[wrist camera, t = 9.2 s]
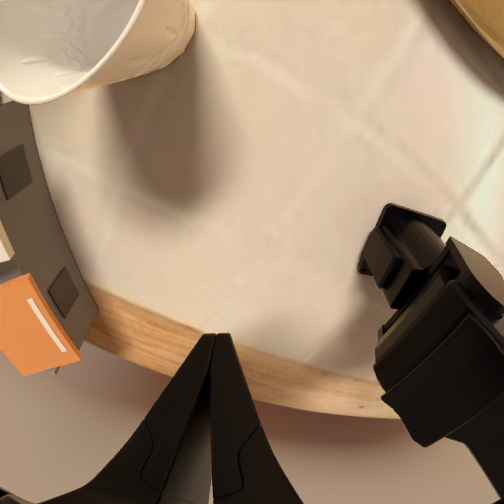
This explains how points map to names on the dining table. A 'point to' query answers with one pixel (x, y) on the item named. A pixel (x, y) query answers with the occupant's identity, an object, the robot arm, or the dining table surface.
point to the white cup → (86, 43)
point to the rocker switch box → (38, 228)
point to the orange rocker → (31, 329)
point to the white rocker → (5, 246)
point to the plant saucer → (485, 20)
